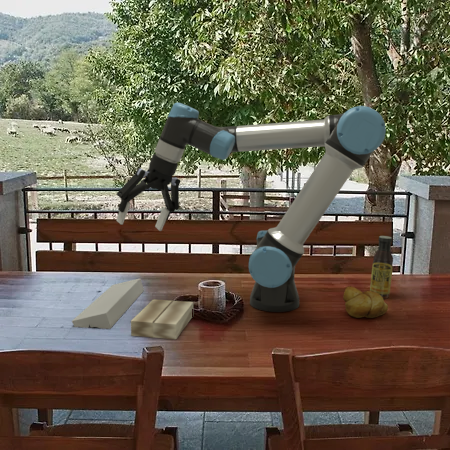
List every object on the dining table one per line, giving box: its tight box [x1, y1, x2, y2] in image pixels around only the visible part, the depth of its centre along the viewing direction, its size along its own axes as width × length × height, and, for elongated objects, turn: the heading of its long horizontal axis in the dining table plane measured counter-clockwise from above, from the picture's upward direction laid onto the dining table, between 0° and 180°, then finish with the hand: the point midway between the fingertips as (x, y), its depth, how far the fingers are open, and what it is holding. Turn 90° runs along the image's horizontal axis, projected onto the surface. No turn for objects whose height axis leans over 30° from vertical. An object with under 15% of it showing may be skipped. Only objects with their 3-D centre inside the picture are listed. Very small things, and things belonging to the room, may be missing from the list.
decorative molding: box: [71, 277, 145, 330], centre depth 153 cm, size 34×5×10 cm
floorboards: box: [130, 299, 194, 340], centre depth 139 cm, size 12×18×4 cm, turn 169°
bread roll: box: [342, 285, 389, 319], centre depth 148 cm, size 13×10×8 cm
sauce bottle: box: [369, 235, 394, 300], centre depth 164 cm, size 7×6×20 cm
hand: (139, 225), depth 147 cm, fingers open, 13 cm apart
